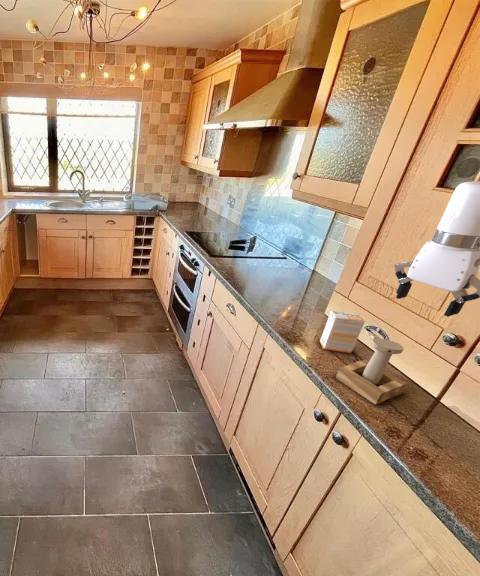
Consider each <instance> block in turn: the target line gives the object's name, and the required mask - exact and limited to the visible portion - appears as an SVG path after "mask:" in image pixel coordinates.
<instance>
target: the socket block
mask: <svg viewBox="0 0 480 576" xmlns="http://www.w3.org/2000/svg"><path fill="white" fill-rule="evenodd" d="M369 361H370V360H367V359H361V360H358V361H355V362H353V363H350V364H347V365H344V366H342V367H339V368H338V371H337V373H336V376H335V379H336V380H338V381H339V382H341V383H342V384H344V385H345V386H347V387H348V388H350V389H351V390H353V391H354V392H356V393H357V394H358V395H360V396H362V397H363V398H365V399H367V401H369V402H371V403H372V404H374V405H378V404H380V403H383V402H385V401H388V400H390V399H392V398H394V397H397V396H399V395H402V392H403V391H404V390H405V388H406V387H407V384H408V383H407V382H406V381H404V380H402V379H400V378H399V377H397V376H395V375H393V374H392V373H390V372H388V371H386V370H385V372H384V374H383V376H382V378H381V379H380V381H379V382H378V383H377V384H376V385H374V384H372V383H371V382H369V381H367V380H366V379H364V378H363V377H362V375H363V372H364V370H365V368H366V366H367V364H368V363H369ZM377 385H378V386H377Z"/></svg>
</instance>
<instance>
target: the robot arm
mask: <svg viewBox="0 0 480 576" xmlns="http://www.w3.org/2000/svg"><path fill="white" fill-rule="evenodd" d="M393 266H394V271H395V276H396V279H398V280H397V281H398V284H399V285H398V288H397V290H396V292H395V293H396V296H395V298H396V299H398V300H399V299H400V300H401V299H403V298H407V296H408V294H409V292H410V290H411V289H412V285H413V283H412V282H413V281H415V282H417V283H420V284H424V285H427V286H430V287H432V288H433V287H434V288H437V289H440V290H443V291H446V292H451V294H452V296H453V298H454V299H453V300H451V301H450V302H449V304H448V305H447V308H446V310H445V312H444V316H445V317H447V318H449V317H451V316H455V315H458V314H459V313H460V312H461V310H462V309H463V307H464V305H465V303H466V302H470V301H475V300H478V299H480V279H479V278H478V277H477V275H478V273H479V270H480V181H479V180H478V181H477V180H475V181H473V180H472V181H465V182H464V181H463V182H461V183H459V184H458V185H457V186H456V187H455V189H454V191H453V192H452V195H451V197H450V199H449V201H448V203H447V206H446V208H445V210H444V213H443V215H442V217H441V219H440V221H439V223H438V225H437V228H436V230H435V232H434V234H433V236H432V239H430V240H427V241H426V243H424V245H423V246H422V247H421V249H420V250H419V252H418V253H417V254H416V256H415V258H414V260H413V261H405V262H403V261H402V262H397V263H394V265H393ZM405 268H409V269H408V272H407V273H406V271H405ZM471 287H474V288H475V289H476V291H475V292H473V293H468V291H467V290H468V289H470V288H471Z"/></svg>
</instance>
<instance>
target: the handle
mask: <svg viewBox="0 0 480 576" xmlns="http://www.w3.org/2000/svg"><path fill="white" fill-rule="evenodd" d="M371 345H372V347H373V348H374V349H375V351H374V352H373V354H372V356H371V358H370V359H369V360H368V361H369V363H368V364H367V366H366V368H365V370H364V372H363V375H361V377H363V378H364V379H366V380H367V381H369V382H371V383H372V384H374V385H376V386H377V385H378V384H377V383H378V382H379V381H380V379H381V378H382V376H383V374H384V372H385V371H386V369H387V367H388V364H389V362H390V360H391V357H392V356H393V355H400V354H402V353H403V351H404V350H405V348H404V346H403V345H402V344H400V343H398V342H396V341H393V340H390V339H384V338H372V340H371Z"/></svg>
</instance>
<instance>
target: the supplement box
mask: <svg viewBox="0 0 480 576" xmlns="http://www.w3.org/2000/svg"><path fill="white" fill-rule="evenodd" d="M365 323H366V319H364V318H363V316H362V315H360V314H359V313H354V312H344V311H337V310H330V312H329V316H328V317H327V321H326V323H325V327H324V329H323V332H322V335H321V337H320V340H319V343H320V345H321V347H322V349H323V350H326V351H334V352H340V353H347V354H352V352H353V350H354V348H355V346H356V343H357V341H358V338H359V336H360V334H361V331H362V330H363V327H364V324H365Z"/></svg>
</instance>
